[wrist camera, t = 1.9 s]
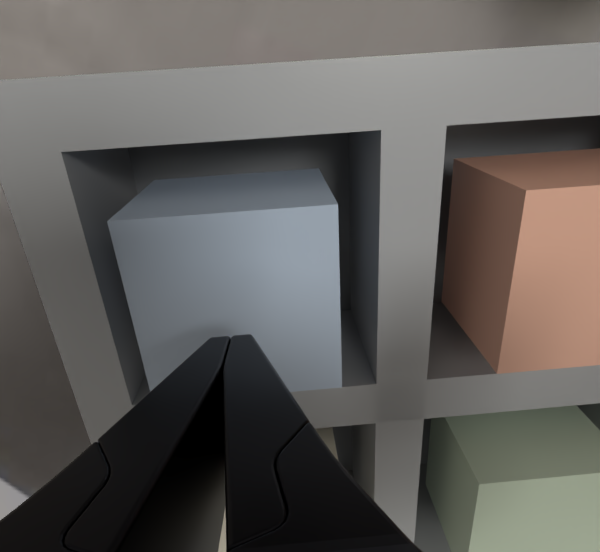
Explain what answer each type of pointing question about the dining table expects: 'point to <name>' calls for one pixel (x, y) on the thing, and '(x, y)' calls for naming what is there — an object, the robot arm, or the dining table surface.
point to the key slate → (235, 271)
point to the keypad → (351, 217)
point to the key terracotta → (526, 258)
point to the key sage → (517, 480)
